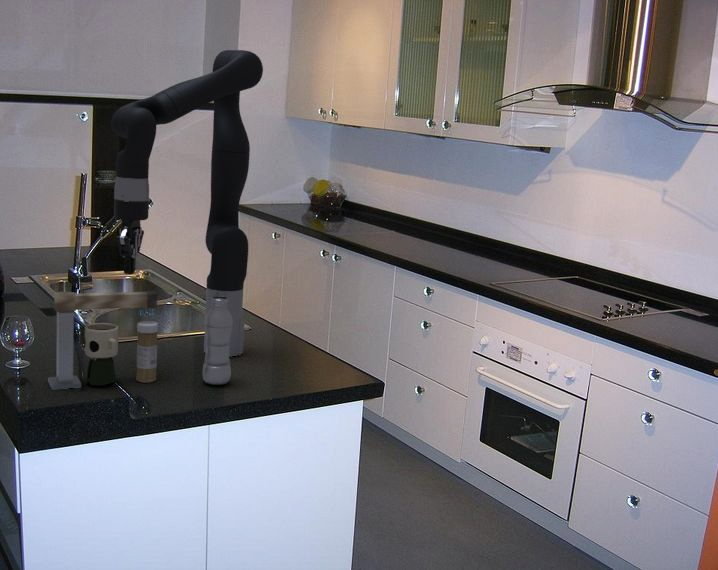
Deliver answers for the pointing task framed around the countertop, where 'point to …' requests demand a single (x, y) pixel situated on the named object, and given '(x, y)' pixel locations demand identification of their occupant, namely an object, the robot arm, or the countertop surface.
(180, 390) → the countertop surface
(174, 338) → the countertop surface
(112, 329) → the character mug
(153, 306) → the swing arm
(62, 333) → the post
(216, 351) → the plastic bottle
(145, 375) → the sprinkles bottle
